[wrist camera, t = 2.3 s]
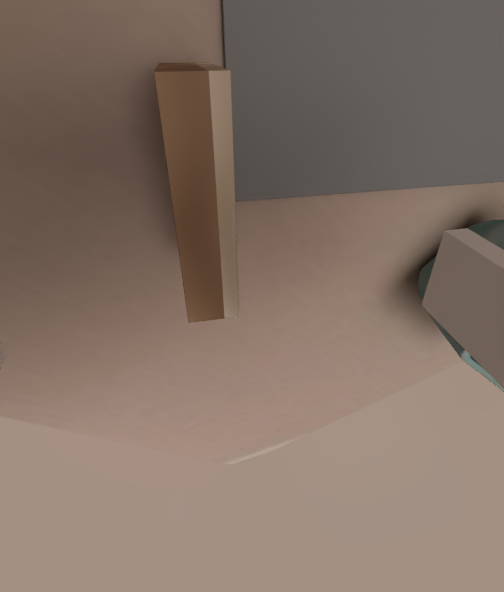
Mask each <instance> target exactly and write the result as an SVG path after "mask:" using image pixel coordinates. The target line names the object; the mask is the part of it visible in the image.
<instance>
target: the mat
mask: <svg viewBox="0 0 504 592" xmlns="http://www.w3.org/2000/svg"><path fill="white" fill-rule="evenodd" d="M221 2H222V25H223V48H224V68H225V69H228V70H230V73H231V102H232V130H233V158H234V186H235V202H236V201H249V200H263V199H276V198H290V197H303V196H316V195H330V194H343V193H357V192H370V191H384V190H397V189H410V188H424V187H437V186H451V185H464V184H477V183H491V182H504V0H221Z"/></svg>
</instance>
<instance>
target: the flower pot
mask: <svg viewBox="0 0 504 592" xmlns="http://www.w3.org/2000/svg"><path fill="white" fill-rule="evenodd" d="M468 229H469V230H471V231H473V232H474V233H476V234H478V235H479V236H481V237H483V238H484V239H486V240H488V241H490V242H491V243H493V244H495V245H496V246H498V247H500V248H501V249H503V250H504V220H493V221H486V222H482V223H477V224H473V225H471V226H469V227H468ZM435 259H436V256H435V257H434V258H433V259H432V260H431V261H430V262H429V263H428V264H426V265H425V266H424V267H423V268H422V269H421V271H420V274H419V292H420V296H421V299H422V301H423V298H424V295H425V292H426V288H427V285H428V282H429V279H430V275H431V272H432V269H433V266H434V262H435ZM429 315H430V314H429ZM430 316H431V315H430ZM431 318H432V319H433V320H434V322H435V323H436V325H437V326H438V328H439V329H440V330H441V332H442V333H443V335H444V336H445V337H446V339H447V340H448V341H449V343H450V344H451V345H452V347H453V348H454V349H455V351H456V352H457V354H458V355H459V356H460V358H461V359H462V360H463V361H464V362H465V363H467V364H468V365H470V366H471V367H472V368H474V369H475V370H476V371H477V372H479V373H480V374H481V375H483V376H484V377H485V378H487V379H488V380H489V381H491V382H492V383H493V384H495V385H496V386H497V387H498V388H500V389H501V390H502V391H503V392H504V389H503V388H502V387H501V386H500V385H499V384H498V383H497V382H496V381H495V379H494V378H493V377H492V376H491V375H490V374H489V373H488V372H487V371H486V370H485V369H484V368H483V367H482V366H481V365H480V364H479V363H478V362H477V361H476V360H475V359H474V358H473V357H472V356H471V355H470V354H469V353H468V352H467V351H466V350H465V349H464V348H463V347H462V346H461V345H460V344H459V343H458V342H457V341H456V340H455V339H454V338H453V337H452V336H451V335H450V334H449V333H448V332H447V331H446V330H445V329H444V328H443V327H442V326H441V325H440V324H439V323H438V322H437V321H436V320H435V319H434V318H433V317H432V316H431Z"/></svg>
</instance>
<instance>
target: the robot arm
mask: <svg viewBox="0 0 504 592" xmlns="http://www.w3.org/2000/svg"><path fill="white" fill-rule="evenodd" d="M421 306H422V307H423V308H424V309H425V310H426V311H427V312H428V313H429V314H430V315H431V316H432V317H433V318H434V319H435V320H436V321H437V322H438V323H439V324H440V325H441V326H442V327H443V328H444V329H445V330H446V331H447V332H448V333H449V334H450V335H451V336H452V337H453V338H454V339H455V340H456V341H457V342H458V343H459V344H460V345H461V346H462V347H463V348H464V349H465V350H466V351H467V352H468V353H469V354H470V355H471V356H472V357H473V358H474V359H475V360H476V361H477V362H478V363H479V364H480V365H481V366H482V367H483V368H484V369H485V370H486V371H487V372H488V373H489V374H490V375H491V376H492V377H493V378H494V379H495V381H496V382H497V383H498V384H499V385H500V386H501V387H502V388H503V389H504V250H503V249H501V248H500V247H498V246H496V245H495V244H493V243H491V242H490V241H488V240H486V239H484V238H483V237H481V236H479V235H478V234H476V233H474V232H473V231H471V230H469V229H468V228H465V229H454V230H444V233H443V236H442V240H441V243H440V246H439V249H438V253H437V256H436V259H435V262H434V266H433V269H432V272H431V275H430V279H429V282H428V285H427V288H426V292H425V295H424V298H423V301H422V305H421ZM6 357H7V355H6V353H5V351H4V349H3V347H2V345H1V344H0V368H1V366H2V364H3V362H4V360H5V359H6Z"/></svg>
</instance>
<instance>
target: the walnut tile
mask: <svg viewBox="0 0 504 592" xmlns="http://www.w3.org/2000/svg"><path fill="white" fill-rule="evenodd" d="M154 74H155V81H156V88H157V96H158V103H159V110H160V118H161V125H162V132H163V140H164V147H165V154H166V162H167V169H168V176H169V184H170V191H171V198H172V206H173V213H174V220H175V228H176V235H177V242H178V249H179V257H180V264H181V271H182V279H183V286H184V293H185V301H186V308H187V315H188V323H190V322H198V321H207V320H215V319H223V318H231V317H239V299H238V271H237V243H236V214H235V186H234V158H233V130H232V102H231V73H230V70H228V69H225V68H222V67H219V66H216V65H214V64H211V63H159V65H158V66H157V68H156V70H155V71H154Z"/></svg>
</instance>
